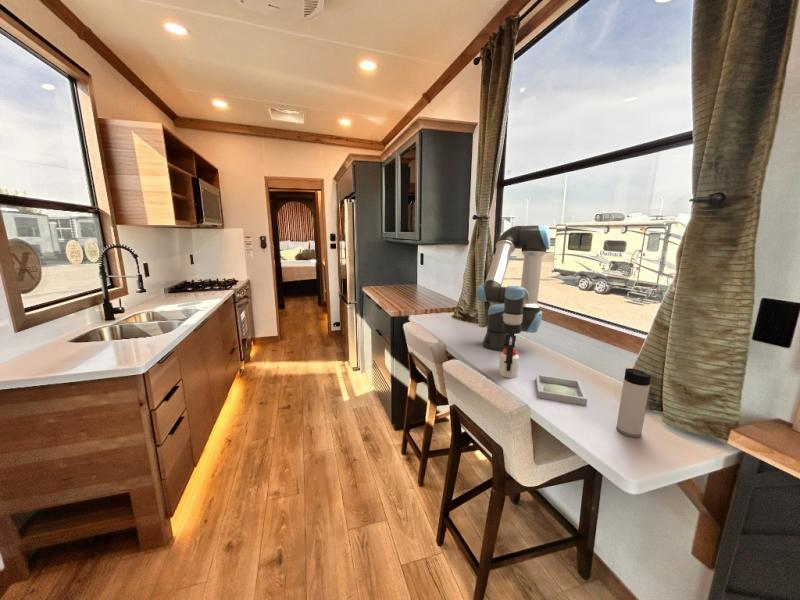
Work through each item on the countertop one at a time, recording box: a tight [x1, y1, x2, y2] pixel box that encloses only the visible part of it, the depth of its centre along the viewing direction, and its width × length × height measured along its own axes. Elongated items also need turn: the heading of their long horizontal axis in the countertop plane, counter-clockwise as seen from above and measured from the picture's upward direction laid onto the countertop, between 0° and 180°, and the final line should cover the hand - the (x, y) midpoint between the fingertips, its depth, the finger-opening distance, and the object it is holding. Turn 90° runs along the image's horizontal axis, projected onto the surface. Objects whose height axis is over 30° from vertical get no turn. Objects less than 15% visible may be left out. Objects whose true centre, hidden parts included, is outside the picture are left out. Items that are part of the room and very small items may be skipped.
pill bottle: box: [498, 348, 520, 379], centre depth 137 cm, size 8×8×11 cm
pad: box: [542, 383, 576, 396], centre depth 122 cm, size 11×11×1 cm
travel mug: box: [616, 367, 652, 438], centre depth 95 cm, size 6×7×20 cm
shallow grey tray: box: [535, 374, 588, 406], centre depth 122 cm, size 16×16×2 cm
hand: (508, 373), depth 138 cm, fingers closed on pill bottle, 8 cm apart
